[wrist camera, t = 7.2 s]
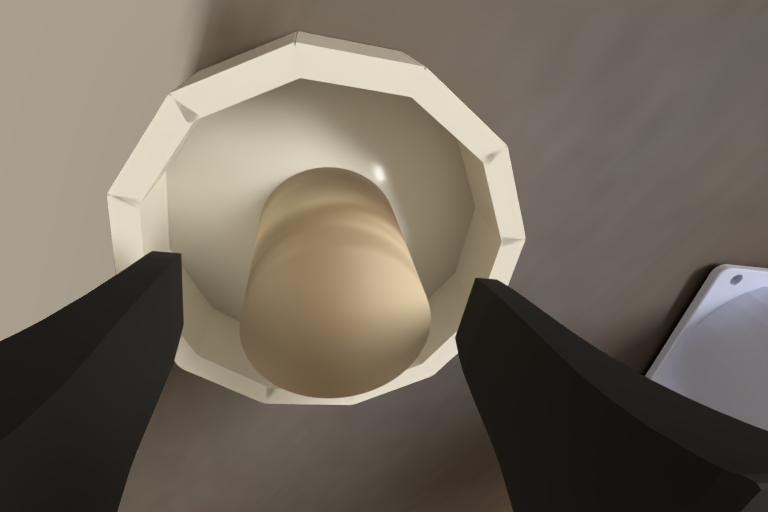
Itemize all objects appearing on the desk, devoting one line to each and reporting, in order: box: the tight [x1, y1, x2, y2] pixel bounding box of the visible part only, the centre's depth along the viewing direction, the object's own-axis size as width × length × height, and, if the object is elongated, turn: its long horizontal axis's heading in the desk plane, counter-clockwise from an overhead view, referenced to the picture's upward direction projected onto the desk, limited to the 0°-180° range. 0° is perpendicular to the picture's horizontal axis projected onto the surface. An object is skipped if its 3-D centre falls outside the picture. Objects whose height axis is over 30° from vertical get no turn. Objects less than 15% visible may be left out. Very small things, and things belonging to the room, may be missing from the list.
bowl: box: [107, 31, 526, 405], centre depth 14 cm, size 11×11×3 cm
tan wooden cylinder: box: [240, 167, 431, 398], centre depth 13 cm, size 4×4×5 cm
